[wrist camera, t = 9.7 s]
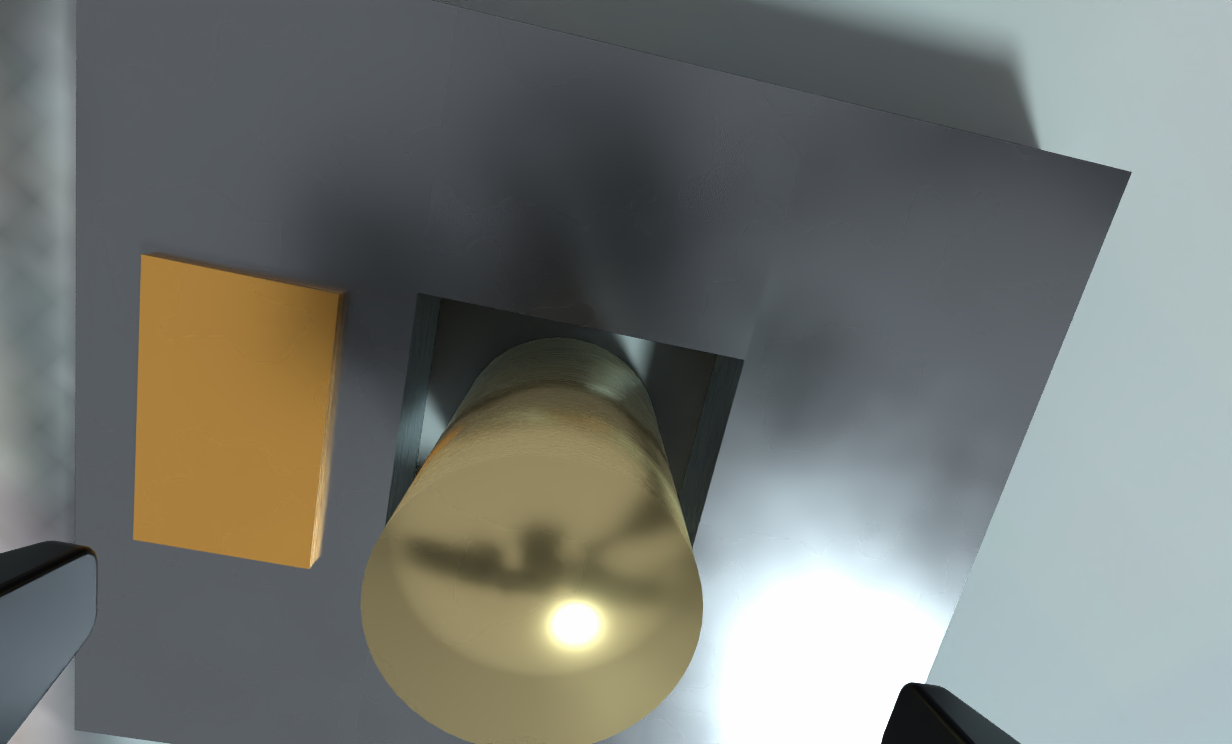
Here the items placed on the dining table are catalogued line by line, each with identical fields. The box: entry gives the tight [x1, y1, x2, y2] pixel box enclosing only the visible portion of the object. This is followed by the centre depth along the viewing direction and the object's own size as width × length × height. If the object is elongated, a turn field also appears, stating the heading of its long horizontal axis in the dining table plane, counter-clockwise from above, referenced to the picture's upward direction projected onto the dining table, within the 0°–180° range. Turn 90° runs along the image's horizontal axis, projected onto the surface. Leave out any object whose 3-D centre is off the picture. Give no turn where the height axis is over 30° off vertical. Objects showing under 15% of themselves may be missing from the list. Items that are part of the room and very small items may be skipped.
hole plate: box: [75, 0, 1132, 744], centre depth 12 cm, size 16×14×2 cm
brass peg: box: [361, 338, 703, 744], centre depth 11 cm, size 4×4×6 cm
